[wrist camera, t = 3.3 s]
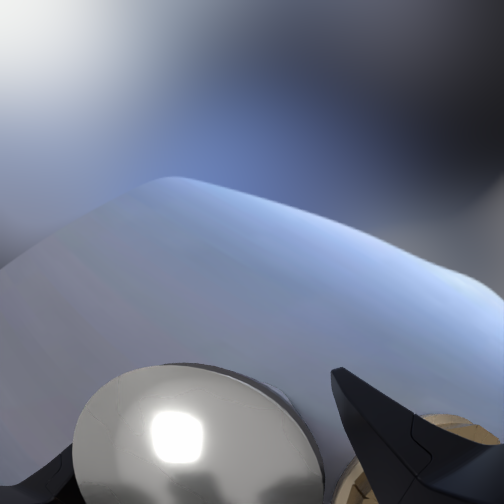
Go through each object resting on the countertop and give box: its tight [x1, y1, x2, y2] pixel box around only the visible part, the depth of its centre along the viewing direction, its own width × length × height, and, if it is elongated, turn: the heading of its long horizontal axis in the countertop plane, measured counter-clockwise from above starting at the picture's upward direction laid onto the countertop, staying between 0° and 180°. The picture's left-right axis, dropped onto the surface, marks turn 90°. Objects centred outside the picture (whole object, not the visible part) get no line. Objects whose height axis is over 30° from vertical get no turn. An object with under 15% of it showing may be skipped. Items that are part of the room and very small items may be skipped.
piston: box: [72, 363, 325, 504], centre depth 8 cm, size 5×5×12 cm
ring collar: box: [331, 414, 500, 504], centre depth 8 cm, size 10×10×4 cm
